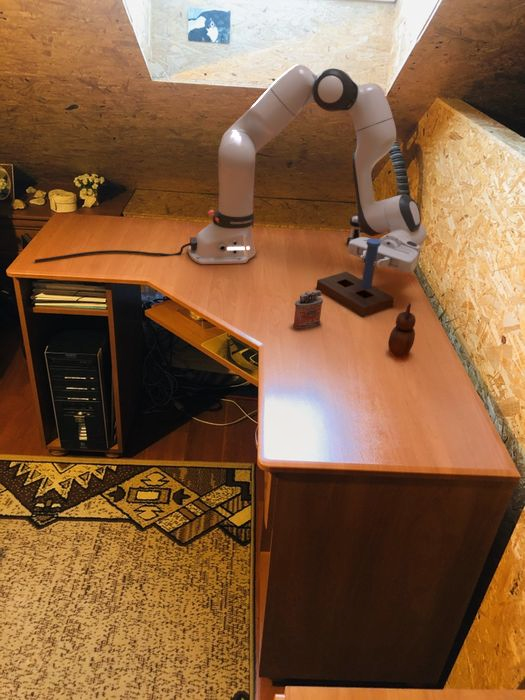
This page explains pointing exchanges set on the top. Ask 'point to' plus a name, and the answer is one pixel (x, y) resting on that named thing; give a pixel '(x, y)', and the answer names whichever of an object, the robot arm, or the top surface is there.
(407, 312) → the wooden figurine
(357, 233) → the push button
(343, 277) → the rack
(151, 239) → the top surface
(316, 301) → the lighter
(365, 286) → the peg
